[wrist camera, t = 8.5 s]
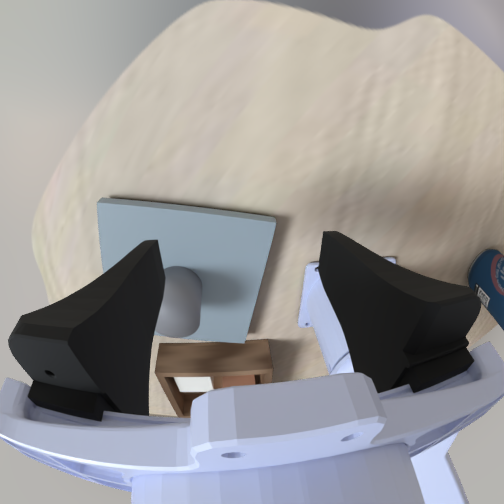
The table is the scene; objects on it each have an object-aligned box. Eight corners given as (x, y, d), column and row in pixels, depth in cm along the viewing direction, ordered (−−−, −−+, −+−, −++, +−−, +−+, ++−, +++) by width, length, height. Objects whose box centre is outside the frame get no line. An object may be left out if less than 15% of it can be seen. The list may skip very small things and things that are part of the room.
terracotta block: (254, 374, 32) (256, 393, 30) (254, 389, 34) (256, 406, 32) (222, 376, 32) (222, 395, 29) (224, 391, 34) (225, 408, 31)
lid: (272, 212, 22) (287, 251, 17) (243, 330, 28) (247, 375, 23) (105, 193, 19) (73, 227, 14) (118, 316, 26) (103, 359, 21)
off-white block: (209, 353, 29) (209, 374, 27) (213, 372, 31) (213, 391, 29) (174, 354, 29) (172, 374, 26) (181, 373, 31) (180, 391, 28)
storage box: (267, 339, 29) (273, 368, 26) (264, 391, 35) (267, 415, 32) (159, 343, 28) (154, 372, 25) (180, 394, 34) (178, 418, 31)
